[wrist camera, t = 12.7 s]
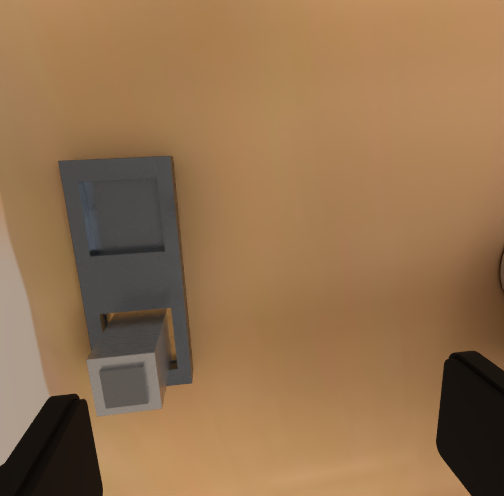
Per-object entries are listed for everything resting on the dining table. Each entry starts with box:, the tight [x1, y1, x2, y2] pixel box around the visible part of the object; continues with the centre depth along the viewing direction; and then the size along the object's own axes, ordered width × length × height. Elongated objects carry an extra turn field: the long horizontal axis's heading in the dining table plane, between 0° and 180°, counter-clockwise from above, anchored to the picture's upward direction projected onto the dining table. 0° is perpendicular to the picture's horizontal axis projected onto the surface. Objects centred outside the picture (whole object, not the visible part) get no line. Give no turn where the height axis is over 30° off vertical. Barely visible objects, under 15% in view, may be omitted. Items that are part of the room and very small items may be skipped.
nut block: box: [86, 310, 172, 416], centre depth 31 cm, size 5×5×8 cm
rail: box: [58, 156, 193, 386], centre depth 33 cm, size 9×22×2 cm, turn 2°
